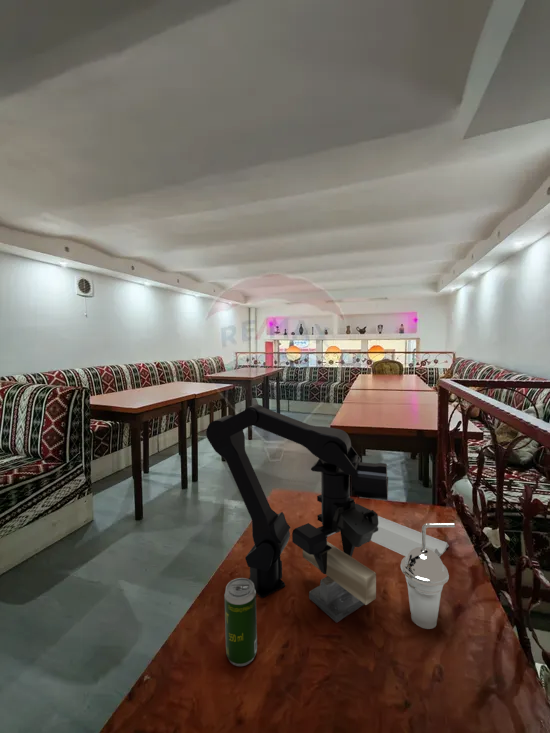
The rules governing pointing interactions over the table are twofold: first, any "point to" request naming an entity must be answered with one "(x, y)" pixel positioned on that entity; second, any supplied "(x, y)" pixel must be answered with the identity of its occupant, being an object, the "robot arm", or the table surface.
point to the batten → (348, 574)
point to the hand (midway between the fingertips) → (335, 566)
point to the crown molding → (404, 538)
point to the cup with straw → (425, 580)
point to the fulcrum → (334, 599)
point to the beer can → (240, 621)
